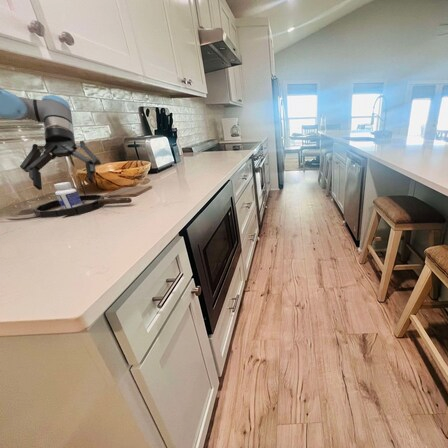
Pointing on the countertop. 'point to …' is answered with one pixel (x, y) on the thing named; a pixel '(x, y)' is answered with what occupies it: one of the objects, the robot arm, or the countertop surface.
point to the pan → (79, 209)
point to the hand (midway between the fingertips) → (65, 184)
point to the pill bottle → (67, 195)
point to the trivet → (128, 191)
